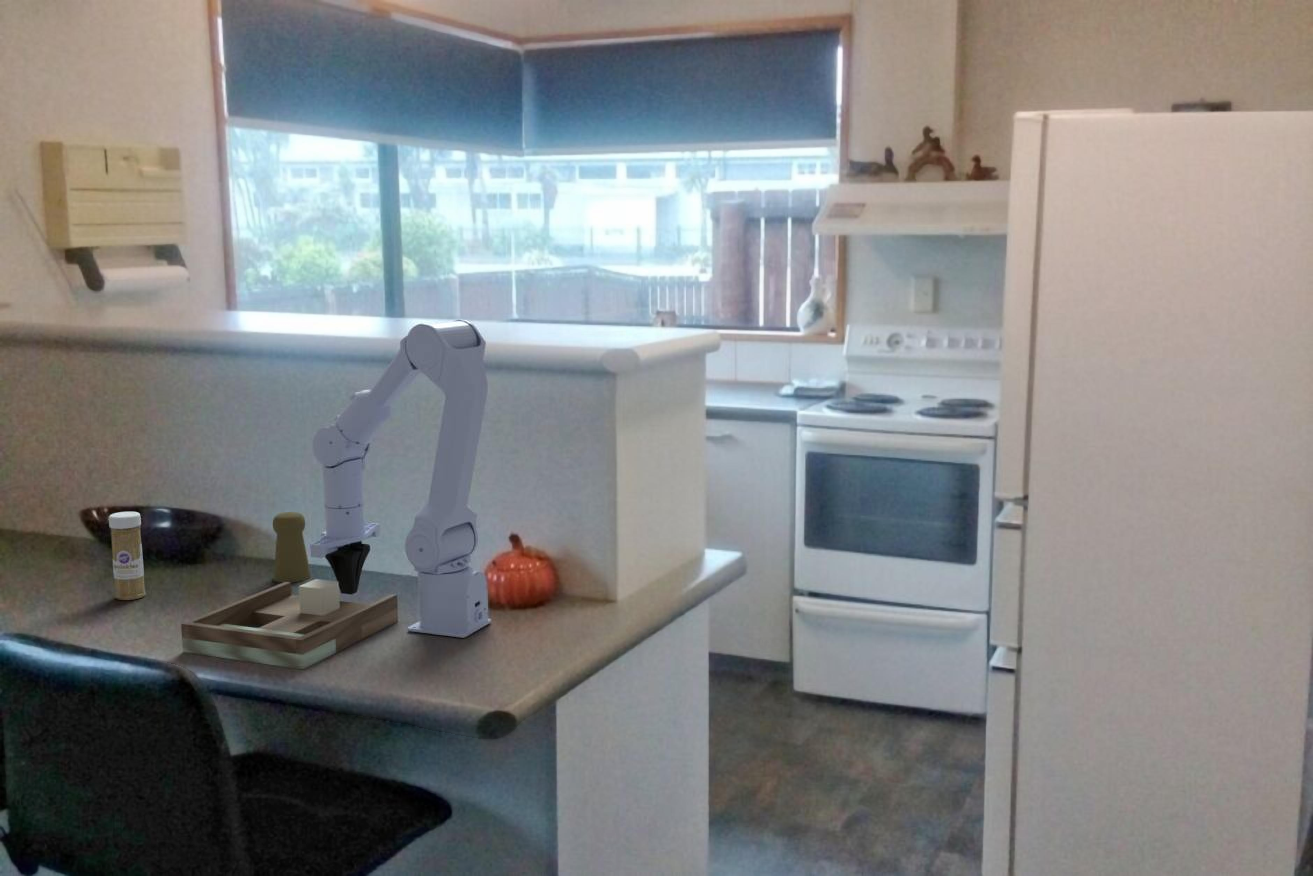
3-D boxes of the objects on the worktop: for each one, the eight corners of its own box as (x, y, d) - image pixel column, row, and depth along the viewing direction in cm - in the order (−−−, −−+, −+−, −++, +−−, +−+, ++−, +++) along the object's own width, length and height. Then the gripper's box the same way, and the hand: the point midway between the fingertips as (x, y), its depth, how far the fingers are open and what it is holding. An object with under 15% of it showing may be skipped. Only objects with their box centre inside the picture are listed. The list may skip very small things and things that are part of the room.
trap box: (398, 621, 182) (397, 594, 181) (303, 669, 162) (301, 640, 161) (287, 607, 189) (285, 581, 188) (183, 651, 169) (180, 623, 168)
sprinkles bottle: (115, 602, 192) (108, 518, 190) (115, 594, 197) (108, 512, 194) (146, 598, 194) (140, 515, 192) (146, 591, 198) (140, 509, 196)
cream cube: (339, 608, 182) (338, 581, 181) (322, 615, 178) (321, 588, 177) (317, 605, 183) (315, 579, 182) (300, 612, 179) (298, 586, 179)
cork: (300, 583, 202) (296, 517, 200) (266, 581, 203) (262, 516, 202) (317, 573, 208) (313, 509, 206) (284, 572, 209) (280, 508, 207)
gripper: (351, 493, 193) (355, 578, 195) (291, 512, 180) (296, 603, 182) (389, 496, 190) (393, 582, 192) (331, 516, 177) (336, 608, 179)
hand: (348, 592), depth 187 cm, fingers closed
